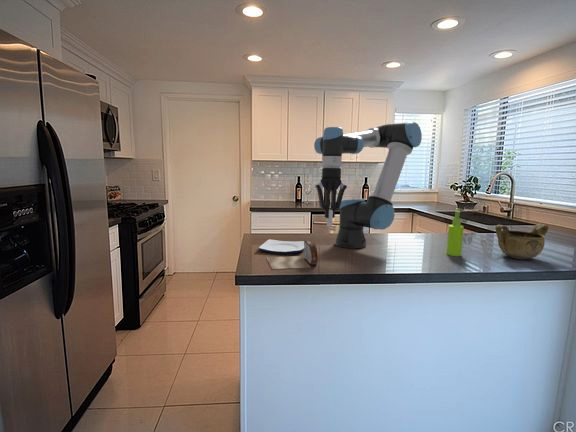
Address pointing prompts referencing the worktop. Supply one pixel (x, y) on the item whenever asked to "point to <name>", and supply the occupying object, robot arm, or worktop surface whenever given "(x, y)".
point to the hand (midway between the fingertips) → (329, 225)
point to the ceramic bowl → (521, 241)
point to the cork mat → (287, 262)
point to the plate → (282, 247)
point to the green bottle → (455, 236)
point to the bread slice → (310, 252)
